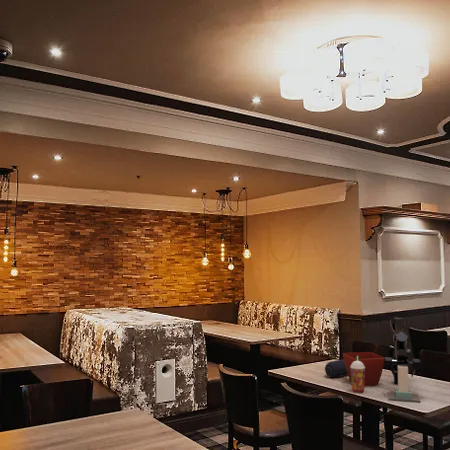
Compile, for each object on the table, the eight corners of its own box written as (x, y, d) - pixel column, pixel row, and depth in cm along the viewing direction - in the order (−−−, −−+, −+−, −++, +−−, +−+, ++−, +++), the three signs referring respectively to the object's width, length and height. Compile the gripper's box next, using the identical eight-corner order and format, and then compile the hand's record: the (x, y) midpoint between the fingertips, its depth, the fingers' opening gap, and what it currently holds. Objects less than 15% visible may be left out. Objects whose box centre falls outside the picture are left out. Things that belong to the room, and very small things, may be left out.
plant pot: (355, 388, 288) (354, 358, 290) (342, 380, 307) (342, 352, 308) (385, 386, 291) (385, 357, 293) (371, 379, 310) (370, 352, 311)
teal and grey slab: (388, 400, 263) (388, 392, 263) (387, 393, 277) (387, 386, 277) (420, 402, 259) (420, 394, 259) (417, 395, 272) (417, 388, 272)
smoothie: (348, 389, 285) (347, 354, 286) (362, 389, 285) (361, 354, 287) (353, 393, 276) (352, 357, 278) (367, 393, 277) (367, 357, 279)
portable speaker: (346, 371, 331) (345, 356, 332) (358, 374, 324) (358, 358, 324) (322, 377, 316) (322, 361, 316) (334, 380, 308) (334, 363, 309)
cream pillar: (398, 391, 265) (398, 367, 266) (398, 389, 270) (397, 365, 271) (408, 392, 264) (407, 367, 265) (407, 390, 269) (407, 365, 270)
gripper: (384, 342, 275) (385, 366, 264) (419, 344, 270) (422, 369, 259) (383, 354, 282) (385, 378, 271) (418, 356, 277) (421, 380, 266)
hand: (403, 376), depth 266 cm, fingers open, 9 cm apart
